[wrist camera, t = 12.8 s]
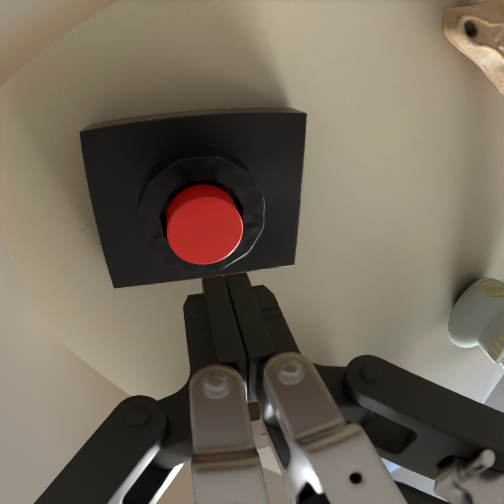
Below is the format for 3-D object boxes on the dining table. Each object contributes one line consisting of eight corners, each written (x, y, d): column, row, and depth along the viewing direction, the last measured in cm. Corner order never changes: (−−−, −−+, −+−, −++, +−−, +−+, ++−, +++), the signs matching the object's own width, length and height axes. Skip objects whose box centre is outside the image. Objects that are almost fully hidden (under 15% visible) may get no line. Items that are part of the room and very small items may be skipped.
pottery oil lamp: (414, -27, 12) (495, -48, 6) (468, 23, 18) (526, 15, 12) (450, 79, 15) (545, 70, 9) (490, 102, 20) (552, 101, 14)
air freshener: (497, 271, 34) (541, 314, 26) (473, 315, 39) (510, 358, 31) (457, 278, 32) (509, 332, 23) (430, 328, 36) (471, 382, 28)
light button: (170, 250, 17) (171, 269, 15) (162, 187, 15) (162, 201, 13) (236, 242, 17) (243, 260, 16) (235, 180, 15) (243, 193, 14)
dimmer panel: (241, 436, 39) (246, 452, 37) (240, 404, 34) (246, 423, 31) (326, 415, 42) (332, 429, 40) (341, 380, 36) (350, 396, 34)
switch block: (117, 269, 20) (110, 307, 17) (89, 124, 15) (68, 139, 12) (284, 248, 23) (304, 281, 20) (292, 108, 17) (321, 118, 14)
